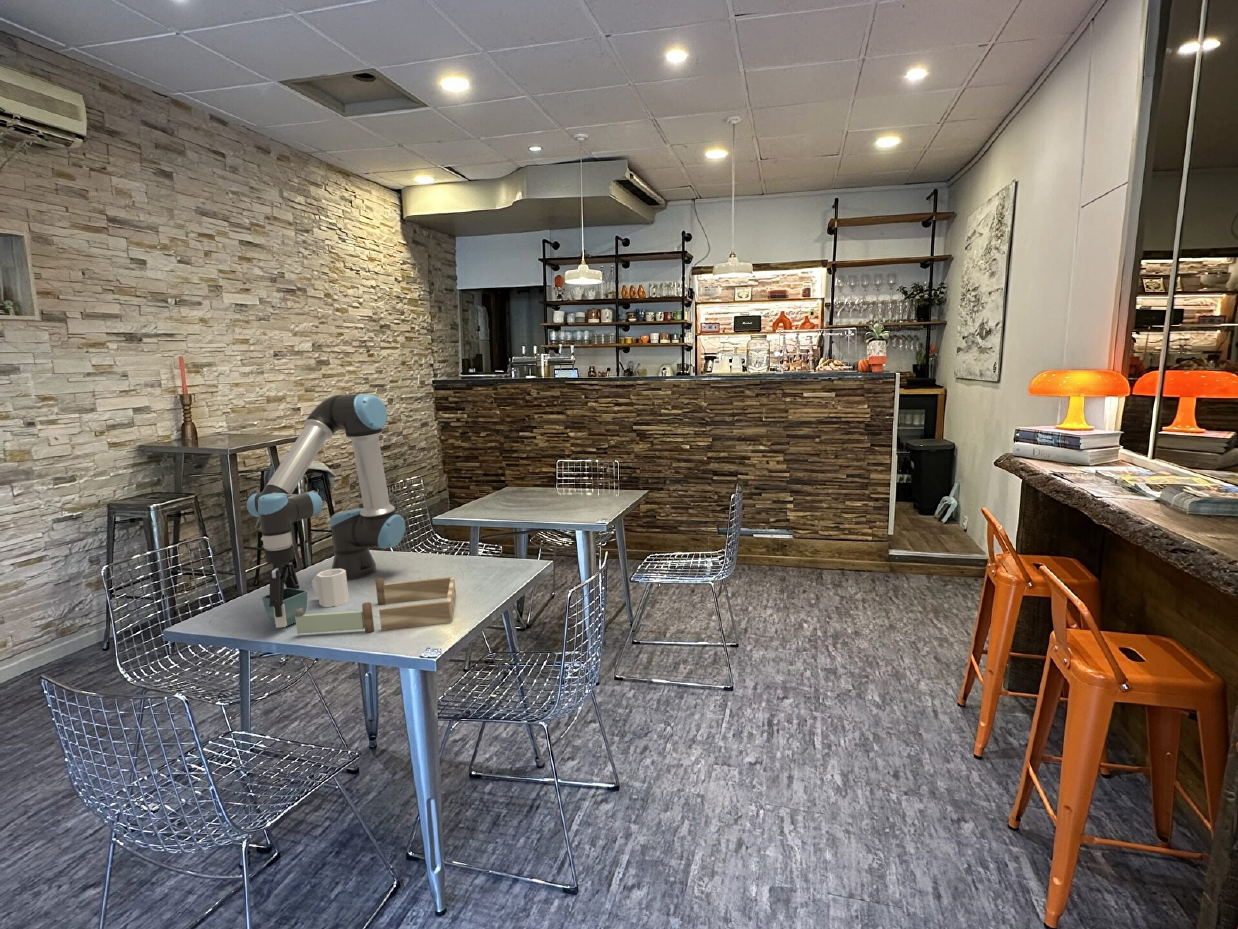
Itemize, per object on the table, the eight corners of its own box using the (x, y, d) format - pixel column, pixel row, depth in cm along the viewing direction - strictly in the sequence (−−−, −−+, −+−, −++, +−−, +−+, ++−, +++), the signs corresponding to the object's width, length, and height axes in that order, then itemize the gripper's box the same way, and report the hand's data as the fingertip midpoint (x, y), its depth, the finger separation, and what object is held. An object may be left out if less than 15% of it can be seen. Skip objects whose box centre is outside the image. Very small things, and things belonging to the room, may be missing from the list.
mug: (354, 598, 208) (351, 569, 207) (334, 608, 200) (330, 578, 199) (325, 595, 212) (321, 567, 211) (304, 605, 204) (300, 575, 203)
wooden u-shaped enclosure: (378, 602, 204) (375, 578, 202) (456, 594, 208) (454, 570, 207) (364, 633, 180) (361, 606, 179) (452, 622, 184) (449, 596, 183)
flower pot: (311, 619, 192) (308, 590, 191) (286, 630, 184) (282, 600, 183) (291, 615, 196) (287, 587, 195) (264, 626, 188) (260, 597, 187)
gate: (365, 627, 182) (362, 604, 181) (362, 629, 180) (360, 606, 179) (299, 631, 181) (296, 608, 180) (296, 634, 179) (293, 610, 178)
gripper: (277, 537, 197) (286, 605, 201) (249, 560, 174) (260, 636, 178) (303, 535, 199) (312, 603, 202) (279, 557, 176) (289, 633, 179)
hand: (288, 618), depth 190 cm, fingers closed on flower pot, 12 cm apart
